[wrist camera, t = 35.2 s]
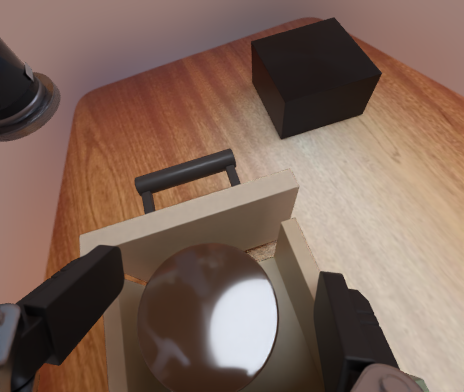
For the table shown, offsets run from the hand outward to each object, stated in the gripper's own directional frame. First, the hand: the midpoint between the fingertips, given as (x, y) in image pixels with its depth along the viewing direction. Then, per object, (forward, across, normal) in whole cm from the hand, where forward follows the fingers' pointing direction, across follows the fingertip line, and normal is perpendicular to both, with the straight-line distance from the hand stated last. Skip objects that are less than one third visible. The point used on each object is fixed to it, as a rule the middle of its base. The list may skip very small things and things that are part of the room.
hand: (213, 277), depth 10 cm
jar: (+6, 0, +8) cm, 9 cm away
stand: (+24, -5, -7) cm, 25 cm away
